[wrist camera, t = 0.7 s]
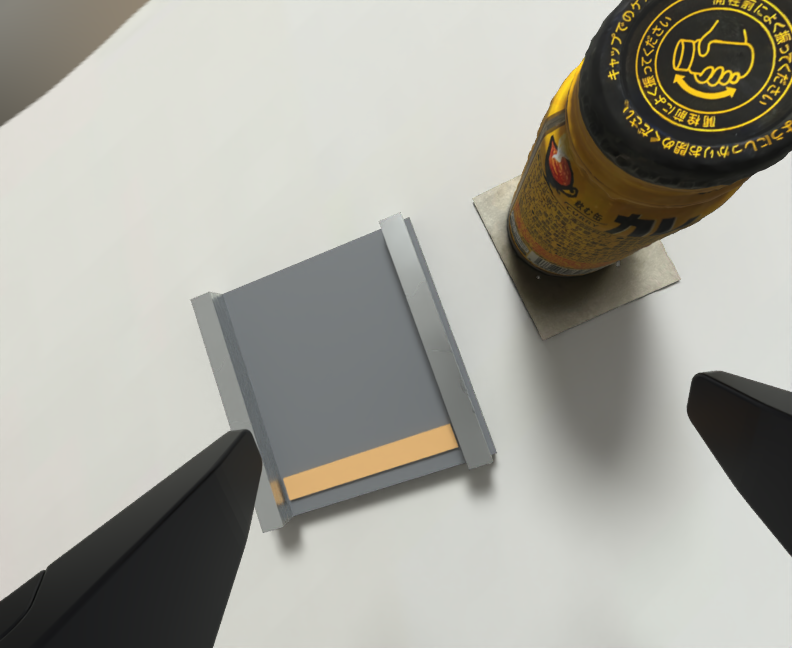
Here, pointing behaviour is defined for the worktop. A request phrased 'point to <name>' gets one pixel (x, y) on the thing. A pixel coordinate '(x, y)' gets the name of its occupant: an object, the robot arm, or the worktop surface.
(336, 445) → the mounting plate
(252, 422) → the guide rails
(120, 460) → the worktop surface
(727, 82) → the condiment
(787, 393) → the robot arm
